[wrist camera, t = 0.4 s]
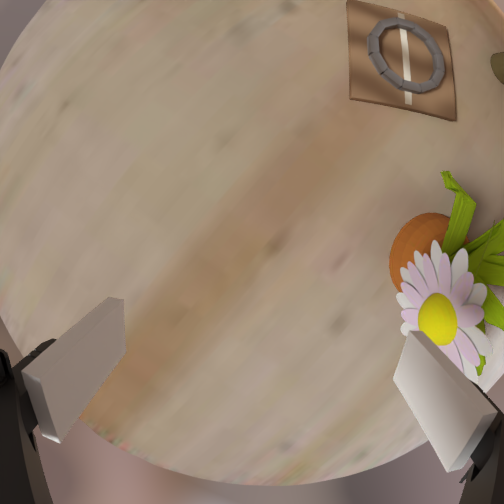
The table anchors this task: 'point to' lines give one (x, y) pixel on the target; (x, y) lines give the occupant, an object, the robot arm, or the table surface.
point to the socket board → (399, 60)
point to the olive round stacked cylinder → (498, 65)
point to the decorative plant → (450, 281)
